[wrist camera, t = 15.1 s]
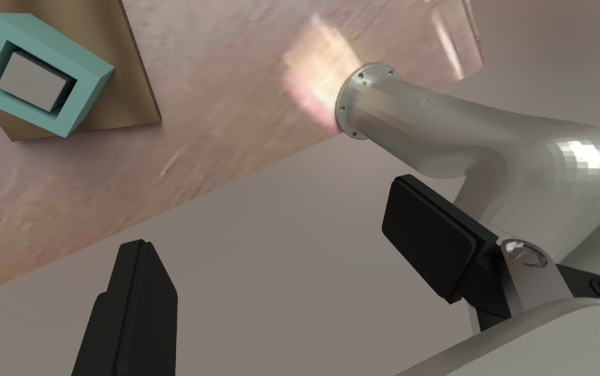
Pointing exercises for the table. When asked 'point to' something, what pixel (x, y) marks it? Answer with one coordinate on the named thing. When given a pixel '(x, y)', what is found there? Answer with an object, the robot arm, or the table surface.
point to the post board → (105, 45)
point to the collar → (61, 54)
